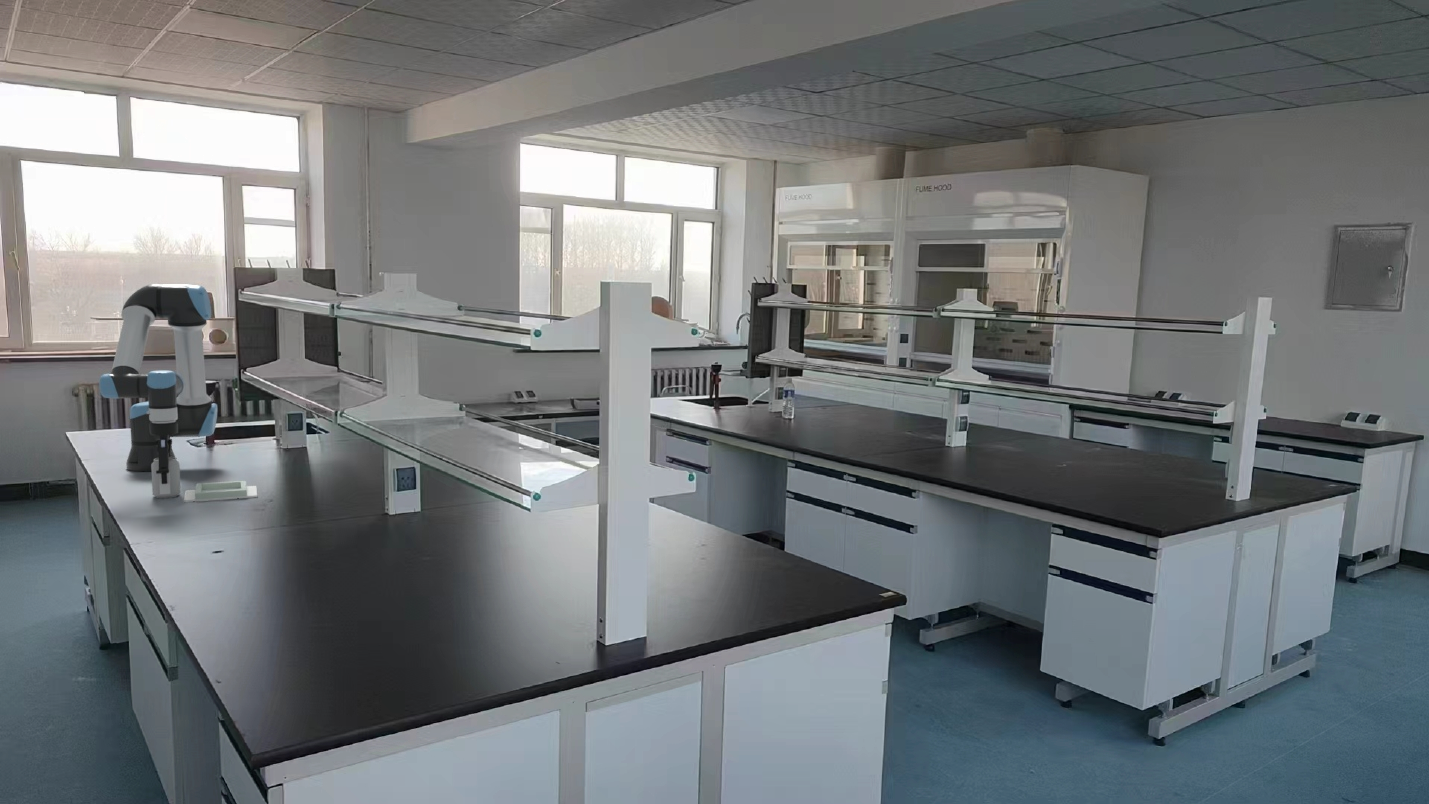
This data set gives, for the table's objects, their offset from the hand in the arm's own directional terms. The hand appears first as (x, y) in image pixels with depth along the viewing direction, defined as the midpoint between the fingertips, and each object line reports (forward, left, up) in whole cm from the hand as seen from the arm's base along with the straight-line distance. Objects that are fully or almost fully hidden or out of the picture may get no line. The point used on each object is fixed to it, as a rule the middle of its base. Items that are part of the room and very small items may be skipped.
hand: (166, 489), depth 288 cm
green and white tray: (+3, +15, -2) cm, 15 cm away
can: (0, 0, -2) cm, 2 cm away
